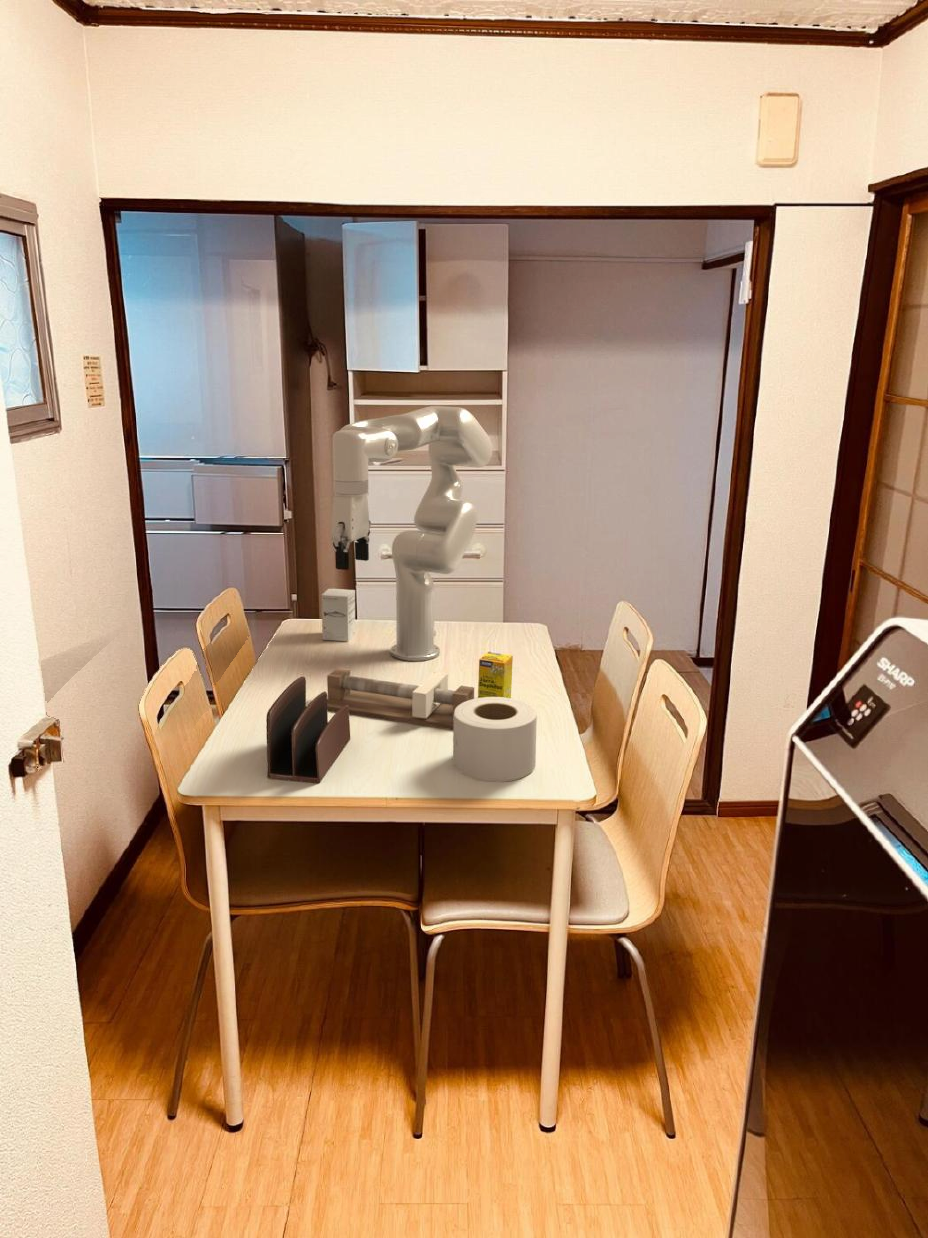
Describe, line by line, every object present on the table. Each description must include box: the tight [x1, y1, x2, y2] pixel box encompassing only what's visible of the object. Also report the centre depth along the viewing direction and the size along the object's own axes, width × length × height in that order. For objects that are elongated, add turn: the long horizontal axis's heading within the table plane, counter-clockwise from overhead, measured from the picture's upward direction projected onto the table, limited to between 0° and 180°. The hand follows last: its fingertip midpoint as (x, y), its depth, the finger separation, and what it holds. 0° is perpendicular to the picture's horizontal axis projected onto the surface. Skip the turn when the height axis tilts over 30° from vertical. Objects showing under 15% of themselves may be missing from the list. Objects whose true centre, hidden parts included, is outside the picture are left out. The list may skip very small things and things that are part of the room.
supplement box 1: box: [321, 588, 356, 643], centre depth 245 cm, size 7×7×13 cm
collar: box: [412, 671, 449, 718], centre depth 195 cm, size 13×3×5 cm, turn 161°
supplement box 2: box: [477, 651, 514, 699], centre depth 201 cm, size 6×6×11 cm
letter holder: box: [265, 675, 351, 784], centre depth 173 cm, size 10×20×14 cm, turn 170°
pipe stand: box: [326, 668, 475, 731], centre depth 198 cm, size 12×32×6 cm, turn 71°
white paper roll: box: [452, 697, 538, 783], centre depth 172 cm, size 16×15×11 cm
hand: (352, 564), depth 205 cm, fingers open, 9 cm apart
